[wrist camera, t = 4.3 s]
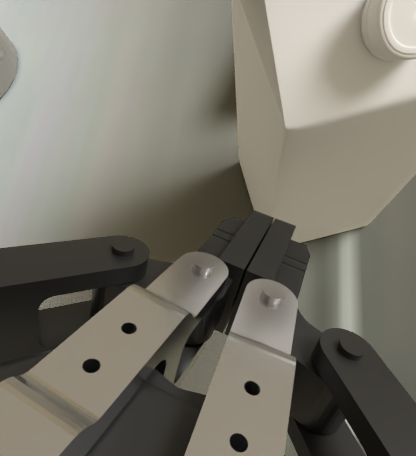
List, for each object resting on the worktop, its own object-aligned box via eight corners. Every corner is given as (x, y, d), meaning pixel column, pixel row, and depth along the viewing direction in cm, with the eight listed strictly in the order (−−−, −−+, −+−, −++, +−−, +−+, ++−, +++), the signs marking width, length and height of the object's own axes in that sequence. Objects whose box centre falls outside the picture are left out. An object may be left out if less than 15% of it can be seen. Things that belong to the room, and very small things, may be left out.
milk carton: (238, 161, 28) (221, -174, 10) (333, 136, 28) (482, -246, 10) (265, 252, 26) (304, 26, 8) (368, 226, 26) (643, -65, 8)
